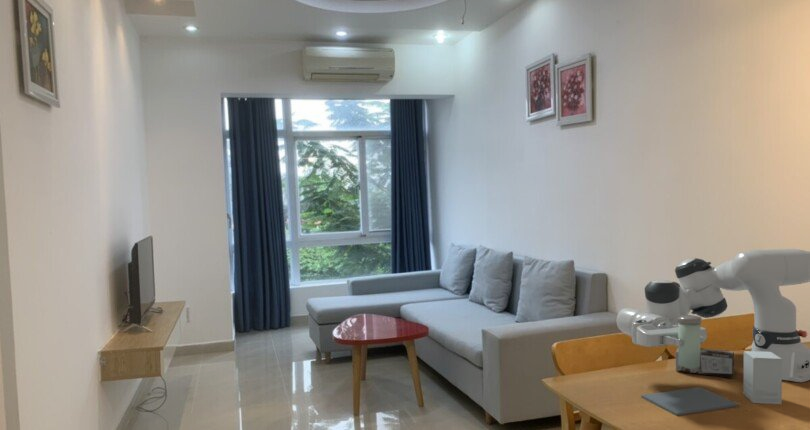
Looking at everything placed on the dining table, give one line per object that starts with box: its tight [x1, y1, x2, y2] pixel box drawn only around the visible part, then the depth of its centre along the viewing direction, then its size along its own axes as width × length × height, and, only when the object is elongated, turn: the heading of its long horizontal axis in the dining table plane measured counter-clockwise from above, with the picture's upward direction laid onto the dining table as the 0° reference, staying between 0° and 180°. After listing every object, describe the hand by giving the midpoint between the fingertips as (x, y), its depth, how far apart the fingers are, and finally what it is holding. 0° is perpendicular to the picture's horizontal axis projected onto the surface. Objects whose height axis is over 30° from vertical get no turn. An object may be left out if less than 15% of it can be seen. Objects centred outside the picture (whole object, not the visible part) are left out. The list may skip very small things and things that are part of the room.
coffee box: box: [675, 347, 735, 379], centre depth 188 cm, size 9×6×16 cm
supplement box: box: [743, 350, 783, 405], centre depth 163 cm, size 7×7×13 cm
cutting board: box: [640, 386, 740, 416], centre depth 163 cm, size 20×14×1 cm
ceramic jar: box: [677, 314, 703, 368], centre depth 162 cm, size 6×6×13 cm
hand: (691, 342), depth 161 cm, fingers closed on ceramic jar, 5 cm apart
